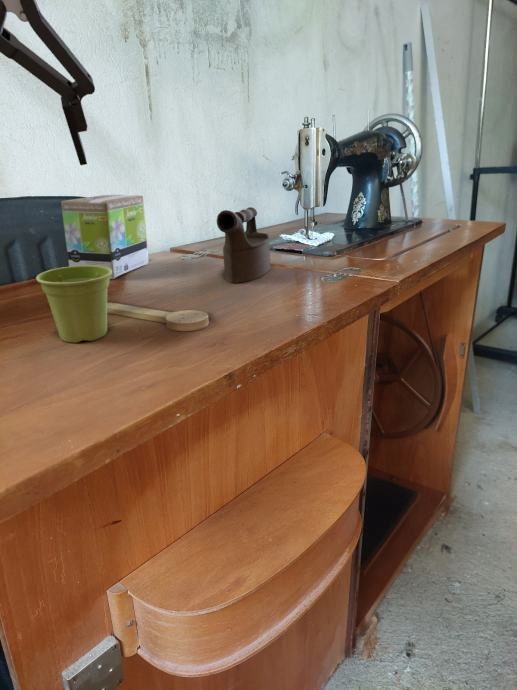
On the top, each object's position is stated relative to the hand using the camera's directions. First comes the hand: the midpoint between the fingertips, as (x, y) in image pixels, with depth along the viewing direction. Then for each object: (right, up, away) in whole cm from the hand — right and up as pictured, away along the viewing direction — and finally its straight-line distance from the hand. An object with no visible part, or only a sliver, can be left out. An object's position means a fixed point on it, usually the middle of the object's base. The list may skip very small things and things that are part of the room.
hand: (21, 170), depth 58 cm
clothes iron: (+23, -6, +42) cm, 49 cm away
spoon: (+9, -15, +20) cm, 27 cm away
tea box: (-4, -4, +49) cm, 50 cm away
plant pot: (+3, -18, +13) cm, 23 cm away
